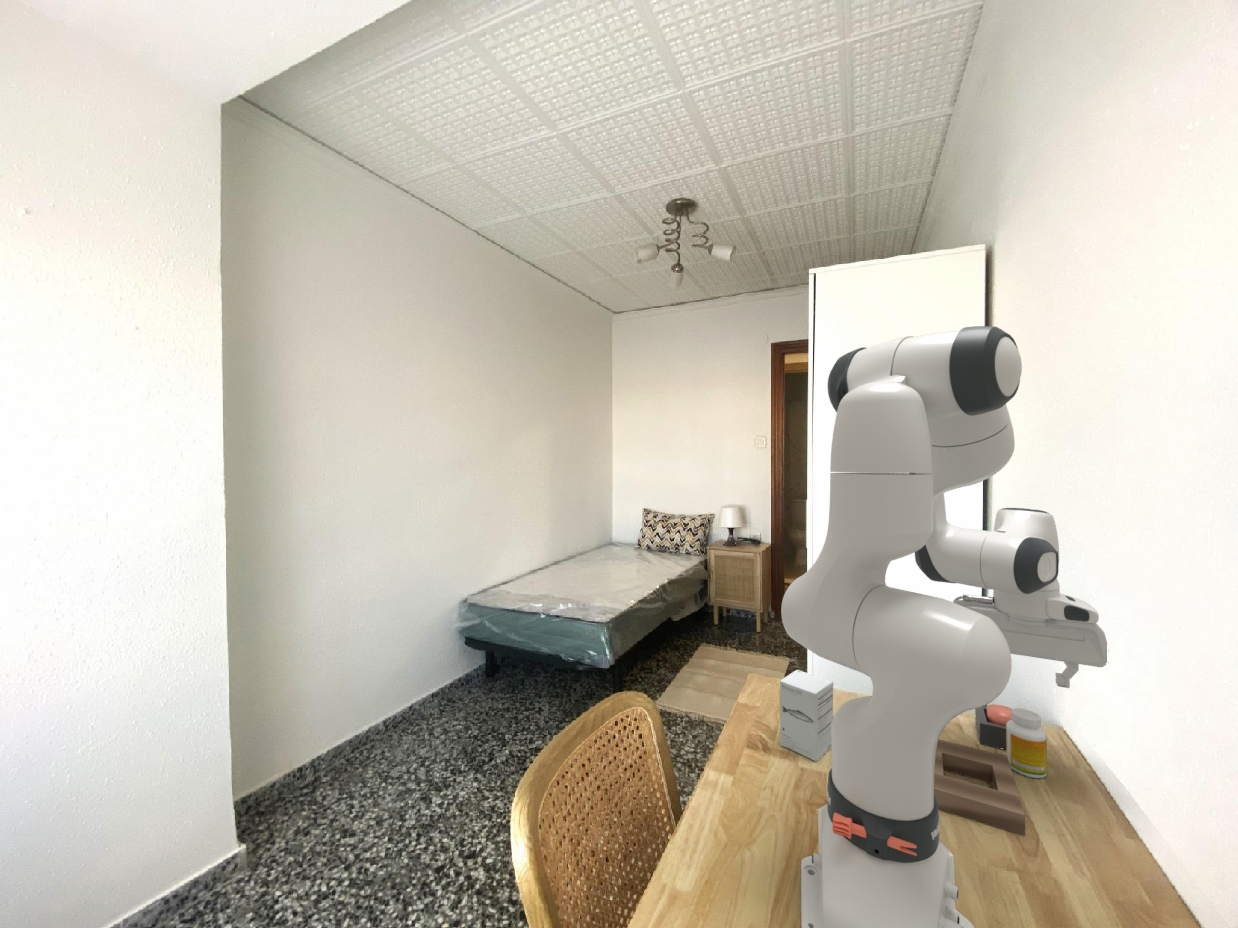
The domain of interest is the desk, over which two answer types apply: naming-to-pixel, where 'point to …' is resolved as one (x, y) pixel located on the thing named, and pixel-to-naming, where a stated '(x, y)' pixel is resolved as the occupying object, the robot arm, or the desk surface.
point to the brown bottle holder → (978, 786)
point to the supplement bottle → (1026, 744)
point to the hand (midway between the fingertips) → (1026, 679)
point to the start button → (998, 714)
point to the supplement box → (806, 714)
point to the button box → (989, 730)
